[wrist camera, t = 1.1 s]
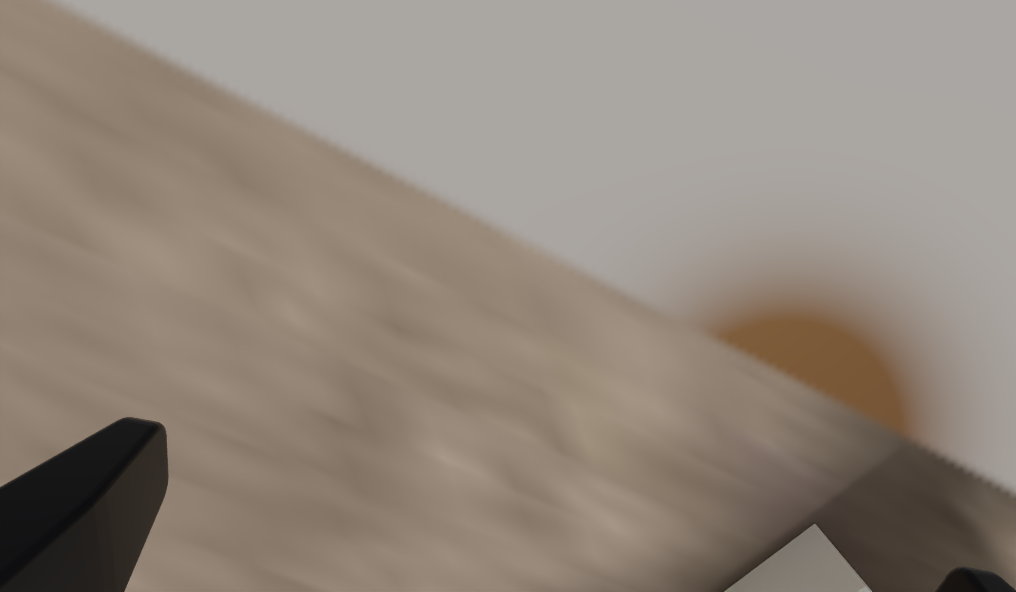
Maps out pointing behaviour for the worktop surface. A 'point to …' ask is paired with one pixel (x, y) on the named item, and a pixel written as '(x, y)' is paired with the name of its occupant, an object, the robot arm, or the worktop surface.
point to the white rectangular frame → (803, 569)
